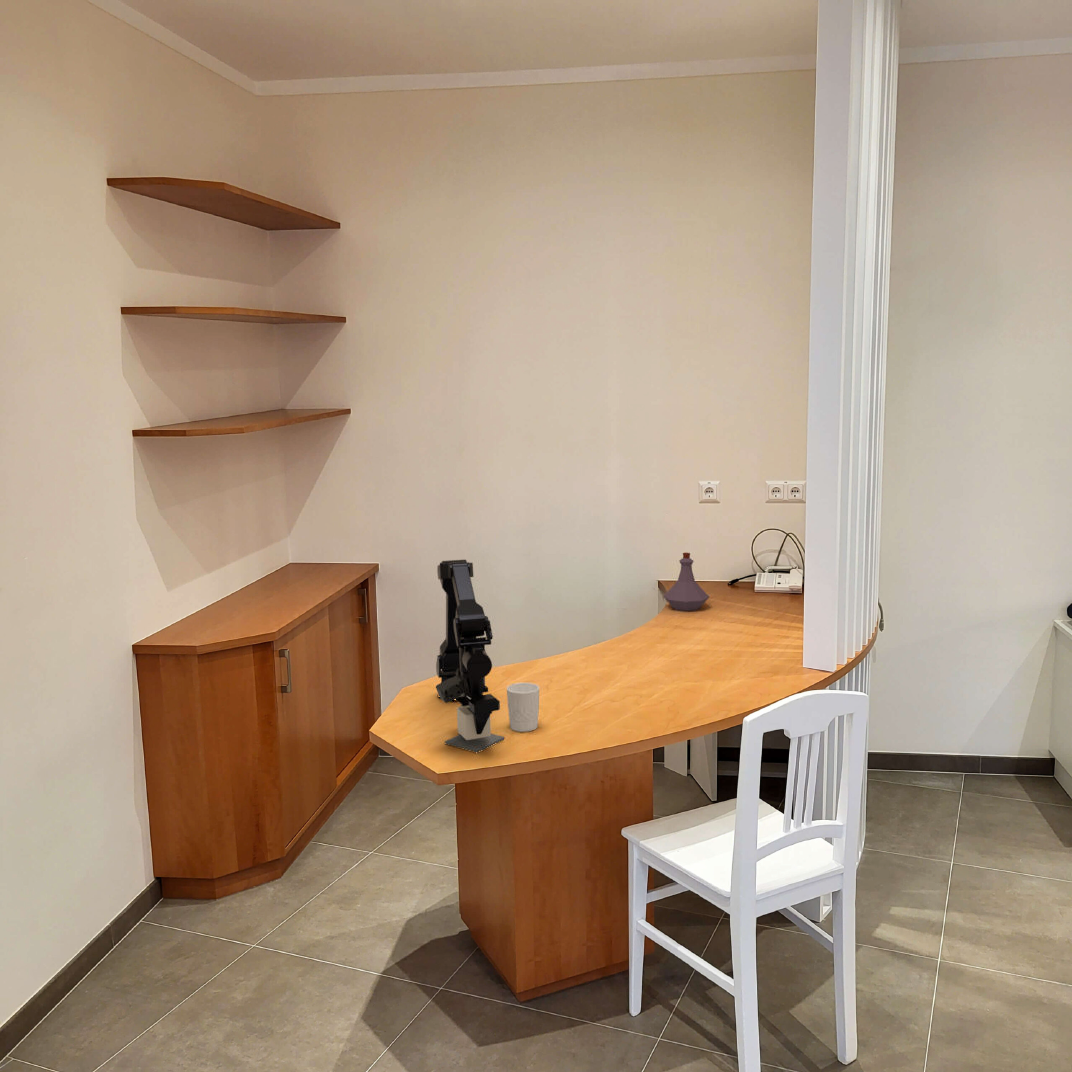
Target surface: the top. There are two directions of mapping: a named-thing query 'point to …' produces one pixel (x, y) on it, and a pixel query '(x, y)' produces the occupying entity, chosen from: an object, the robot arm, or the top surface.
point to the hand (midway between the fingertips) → (474, 729)
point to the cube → (470, 724)
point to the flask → (686, 589)
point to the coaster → (474, 742)
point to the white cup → (523, 706)
